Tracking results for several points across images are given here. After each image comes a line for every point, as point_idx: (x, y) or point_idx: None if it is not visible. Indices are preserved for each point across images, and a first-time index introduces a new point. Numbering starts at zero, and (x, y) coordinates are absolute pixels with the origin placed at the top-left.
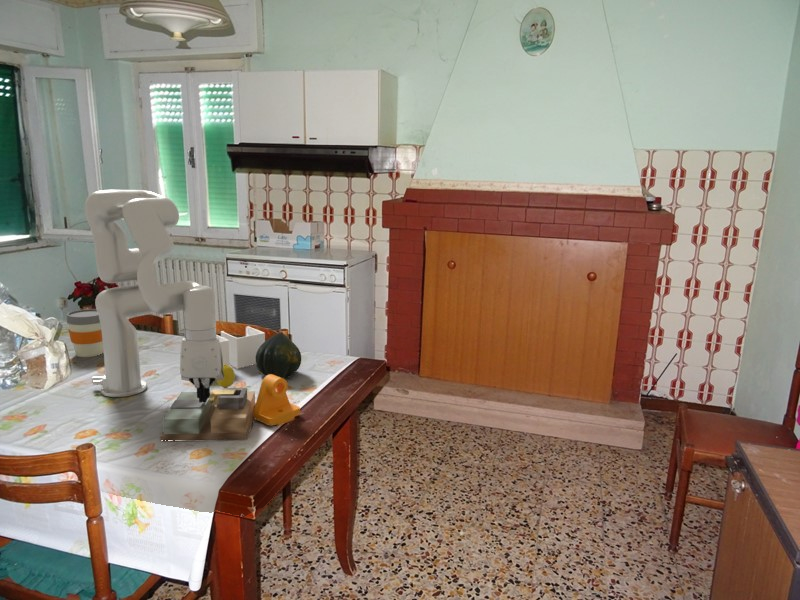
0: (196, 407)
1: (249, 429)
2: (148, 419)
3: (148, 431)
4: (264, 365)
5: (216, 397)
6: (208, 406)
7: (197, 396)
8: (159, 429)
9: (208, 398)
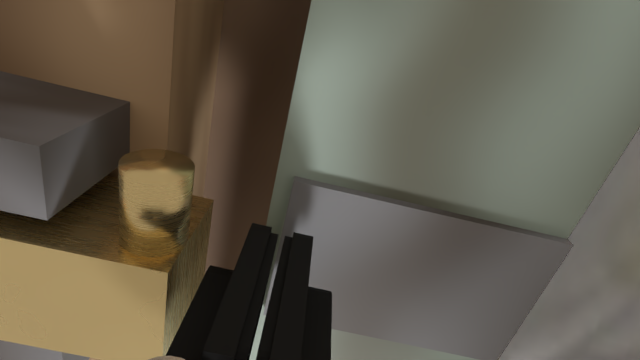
0: (343, 189)
1: None
2: (584, 300)
3: (630, 158)
4: None
5: (112, 228)
6: None
7: (326, 299)
8: None
9: None
